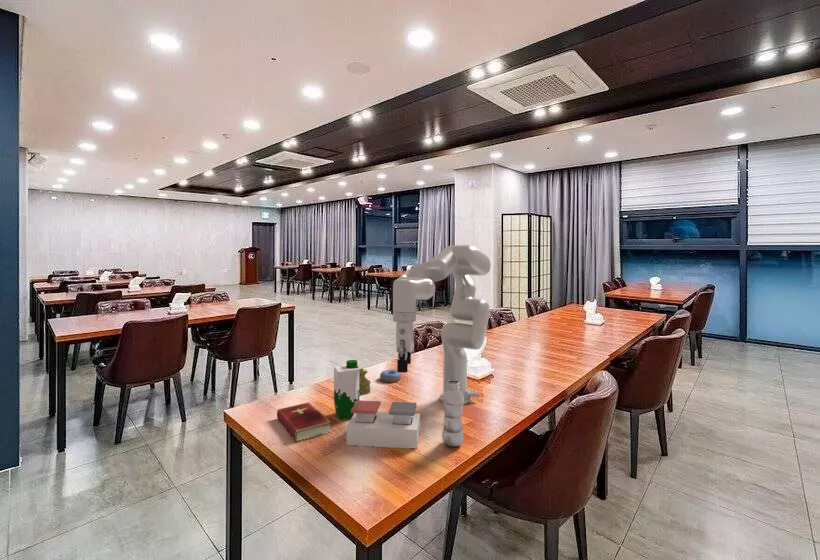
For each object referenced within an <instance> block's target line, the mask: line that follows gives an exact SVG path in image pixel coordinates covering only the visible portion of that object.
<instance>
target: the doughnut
mask: <svg viewBox="0 0 820 560" xmlns="http://www.w3.org/2000/svg"><path fill="white" fill-rule="evenodd" d="M401 373H402V372H397V369H386V370H383V371H381V373H380V374H379V379H380V380H381V381H382V382H384V383H396V382H398V380H399V381H400V380H401V378H402V374H401Z"/></svg>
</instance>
